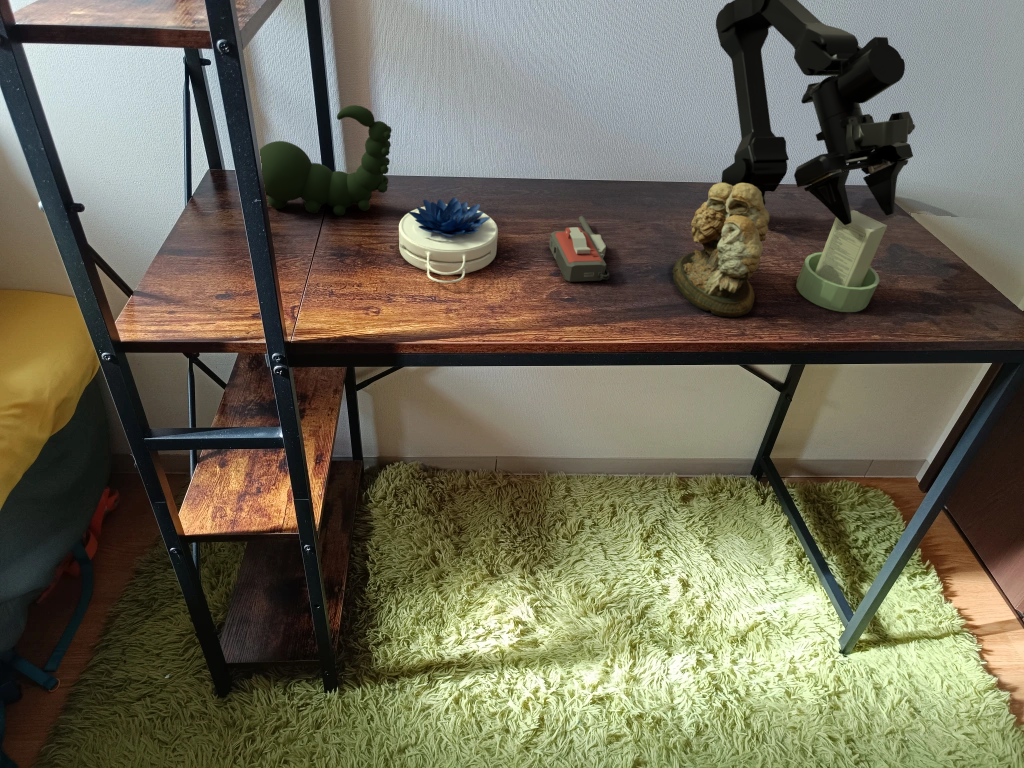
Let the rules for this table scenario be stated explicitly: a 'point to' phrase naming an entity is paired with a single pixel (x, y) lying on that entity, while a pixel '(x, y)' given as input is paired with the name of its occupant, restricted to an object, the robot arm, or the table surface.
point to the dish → (834, 288)
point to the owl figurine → (724, 250)
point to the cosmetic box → (850, 250)
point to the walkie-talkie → (579, 253)
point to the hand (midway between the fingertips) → (869, 219)
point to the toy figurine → (327, 171)
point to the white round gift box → (448, 238)
